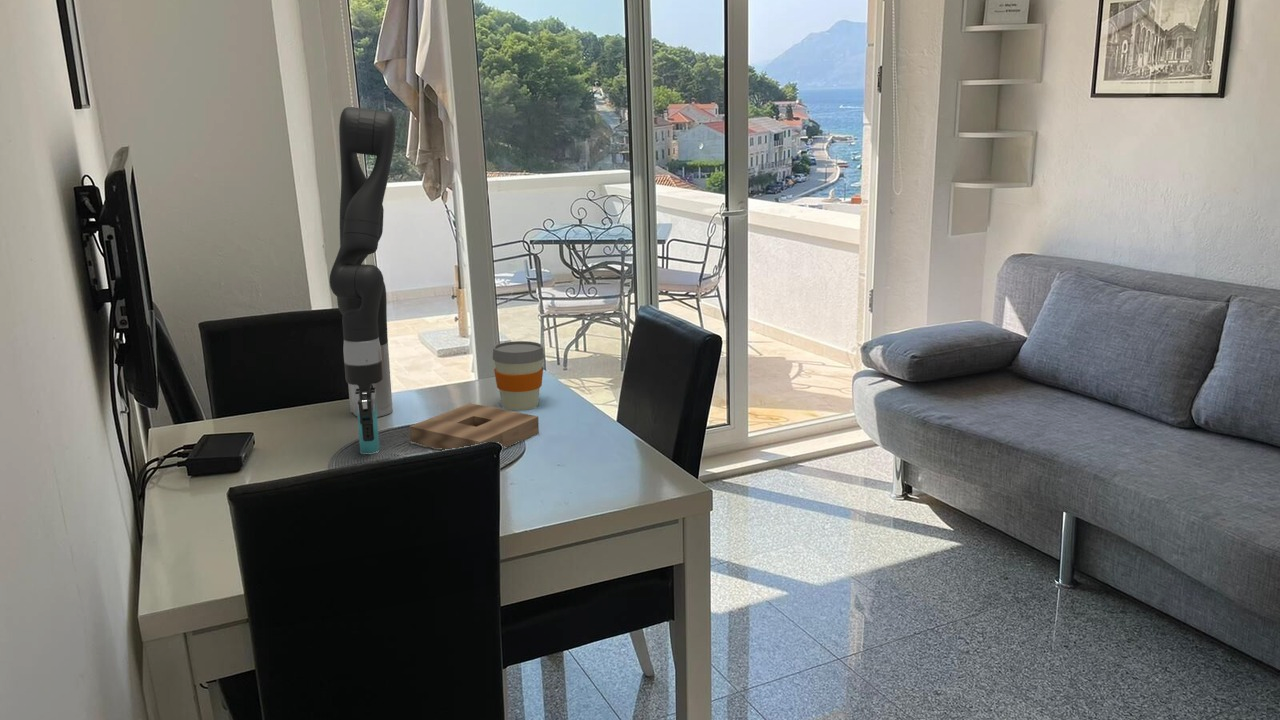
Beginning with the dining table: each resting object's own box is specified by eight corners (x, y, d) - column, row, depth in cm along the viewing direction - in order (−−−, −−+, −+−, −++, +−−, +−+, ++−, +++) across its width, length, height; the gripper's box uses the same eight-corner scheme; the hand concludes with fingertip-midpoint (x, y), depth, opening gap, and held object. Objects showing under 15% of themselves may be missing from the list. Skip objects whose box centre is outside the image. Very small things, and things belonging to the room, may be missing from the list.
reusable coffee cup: (525, 395, 238) (524, 338, 235) (555, 405, 230) (554, 347, 226) (484, 404, 230) (482, 346, 227) (513, 416, 221) (511, 355, 218)
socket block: (410, 443, 202) (409, 426, 201) (470, 419, 219) (470, 403, 218) (481, 460, 192) (480, 441, 191) (538, 433, 209) (538, 416, 208)
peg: (356, 452, 197) (352, 407, 194) (370, 447, 200) (367, 402, 198) (369, 455, 195) (366, 410, 192) (383, 450, 198) (380, 405, 196)
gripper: (381, 366, 187) (386, 446, 191) (382, 350, 200) (387, 425, 204) (342, 369, 185) (349, 449, 189) (345, 352, 198) (352, 428, 203)
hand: (368, 436), depth 197 cm, fingers closed on peg, 4 cm apart
